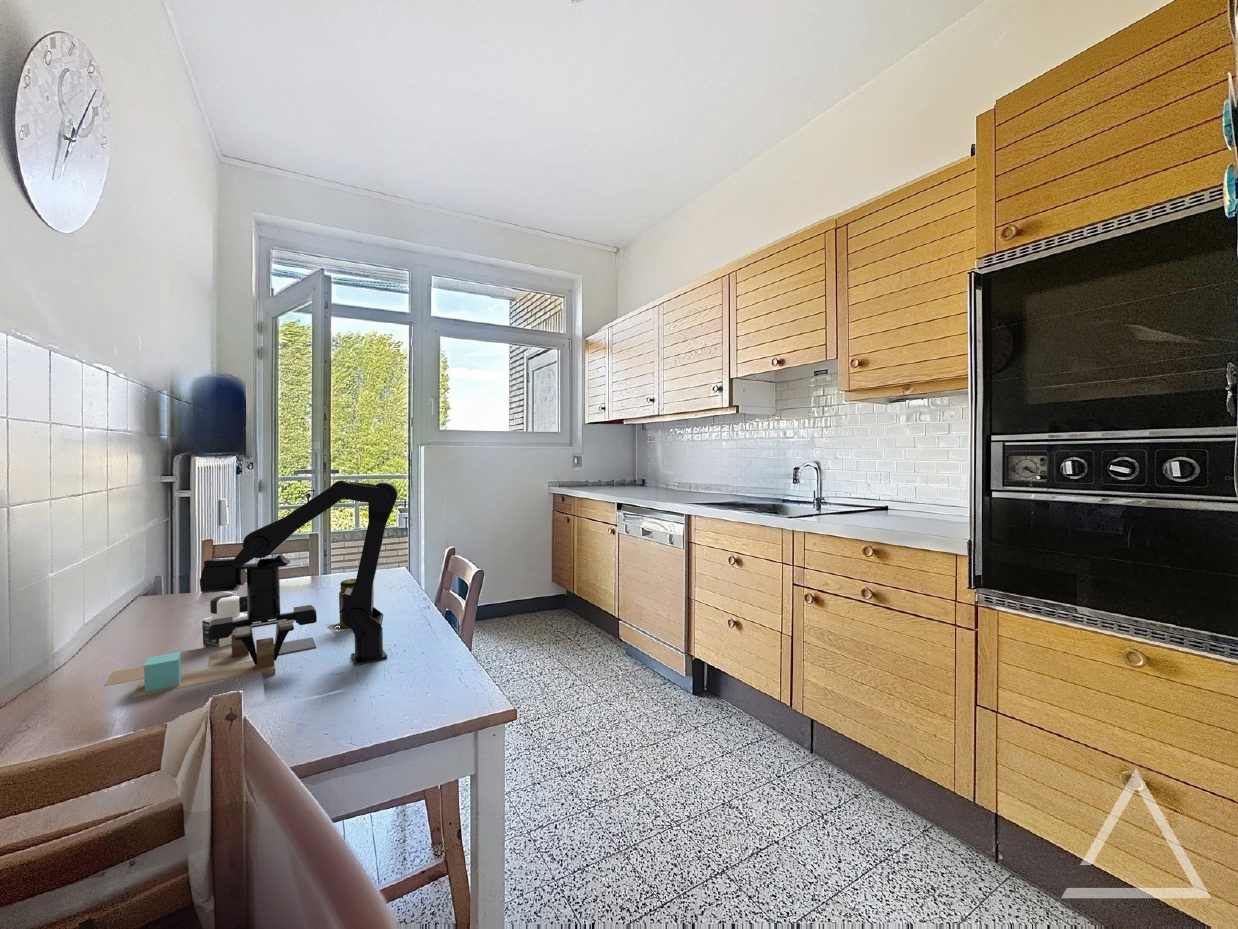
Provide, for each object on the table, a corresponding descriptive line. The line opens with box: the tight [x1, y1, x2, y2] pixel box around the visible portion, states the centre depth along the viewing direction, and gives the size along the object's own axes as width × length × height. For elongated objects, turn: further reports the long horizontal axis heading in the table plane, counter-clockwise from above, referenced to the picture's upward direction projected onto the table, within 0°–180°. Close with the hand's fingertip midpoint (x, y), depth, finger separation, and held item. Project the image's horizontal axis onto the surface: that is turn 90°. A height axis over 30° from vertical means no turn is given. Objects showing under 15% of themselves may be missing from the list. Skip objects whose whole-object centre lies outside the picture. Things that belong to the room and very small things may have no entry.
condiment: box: [327, 578, 356, 634], centre depth 143 cm, size 7×8×12 cm
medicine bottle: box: [201, 594, 248, 649], centre depth 129 cm, size 7×7×12 cm
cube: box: [143, 651, 182, 692], centre depth 105 cm, size 5×5×5 cm
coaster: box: [274, 636, 317, 656], centre depth 128 cm, size 8×8×1 cm
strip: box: [132, 636, 276, 699], centre depth 109 cm, size 8×22×6 cm, turn 125°
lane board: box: [104, 665, 144, 687], centre depth 108 cm, size 21×21×2 cm
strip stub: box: [208, 631, 250, 667], centre depth 119 cm, size 8×7×6 cm
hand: (265, 661), depth 114 cm, fingers closed on strip, 3 cm apart
